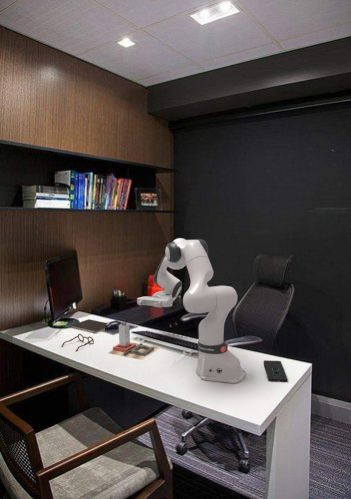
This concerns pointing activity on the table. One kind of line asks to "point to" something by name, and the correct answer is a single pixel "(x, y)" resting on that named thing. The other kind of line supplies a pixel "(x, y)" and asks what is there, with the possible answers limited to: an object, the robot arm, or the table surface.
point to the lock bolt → (124, 335)
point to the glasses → (80, 340)
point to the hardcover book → (90, 326)
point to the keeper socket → (123, 348)
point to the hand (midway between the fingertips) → (146, 304)
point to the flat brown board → (137, 351)
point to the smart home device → (275, 371)
